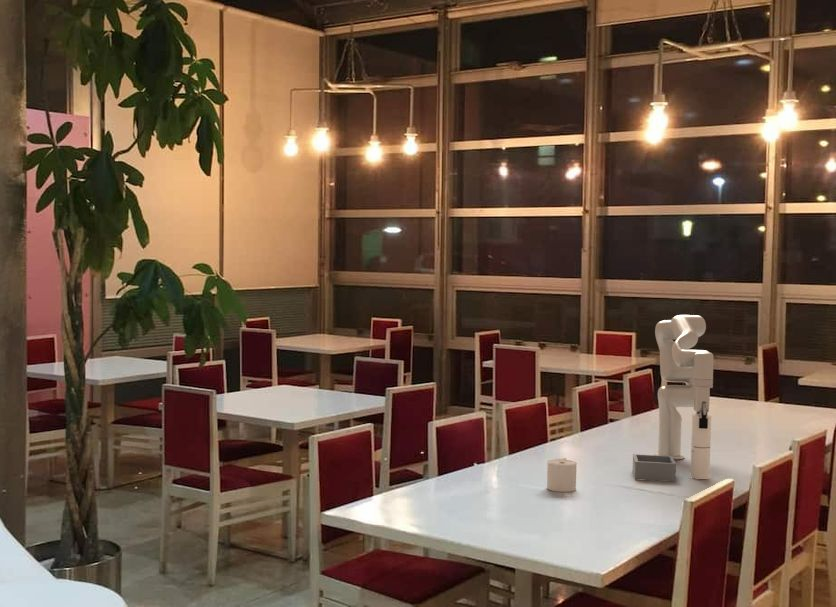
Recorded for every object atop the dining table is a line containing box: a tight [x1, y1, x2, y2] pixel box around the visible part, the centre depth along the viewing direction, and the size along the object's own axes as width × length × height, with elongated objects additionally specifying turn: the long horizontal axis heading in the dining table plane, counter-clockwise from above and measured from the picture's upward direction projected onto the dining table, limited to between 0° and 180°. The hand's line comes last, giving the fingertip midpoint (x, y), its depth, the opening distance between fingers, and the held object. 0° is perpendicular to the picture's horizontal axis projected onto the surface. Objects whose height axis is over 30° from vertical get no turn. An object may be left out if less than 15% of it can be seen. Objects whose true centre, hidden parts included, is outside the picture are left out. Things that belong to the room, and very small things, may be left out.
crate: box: [632, 453, 677, 482], centre depth 377 cm, size 15×15×7 cm
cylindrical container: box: [689, 413, 712, 480], centre depth 375 cm, size 7×7×25 cm
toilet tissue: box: [546, 457, 578, 493], centre depth 353 cm, size 11×12×10 cm
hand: (701, 426), depth 375 cm, fingers open, 9 cm apart
